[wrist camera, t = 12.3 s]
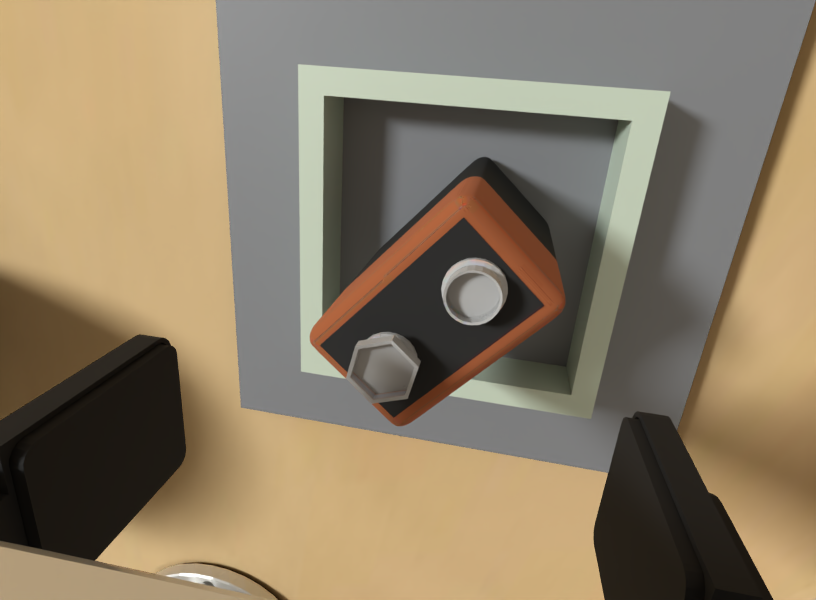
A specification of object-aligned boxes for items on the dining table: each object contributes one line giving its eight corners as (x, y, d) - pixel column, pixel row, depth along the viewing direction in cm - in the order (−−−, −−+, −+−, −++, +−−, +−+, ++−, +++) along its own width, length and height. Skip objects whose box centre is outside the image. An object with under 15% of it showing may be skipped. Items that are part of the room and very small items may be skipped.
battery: (373, 254, 24) (286, 354, 15) (484, 149, 22) (461, 194, 12) (437, 321, 25) (391, 455, 16) (553, 227, 22) (579, 323, 13)
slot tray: (655, 468, 27) (674, 520, 23) (249, 397, 30) (217, 434, 27) (814, -39, 18) (878, -66, 15) (224, -61, 21) (173, -87, 18)
